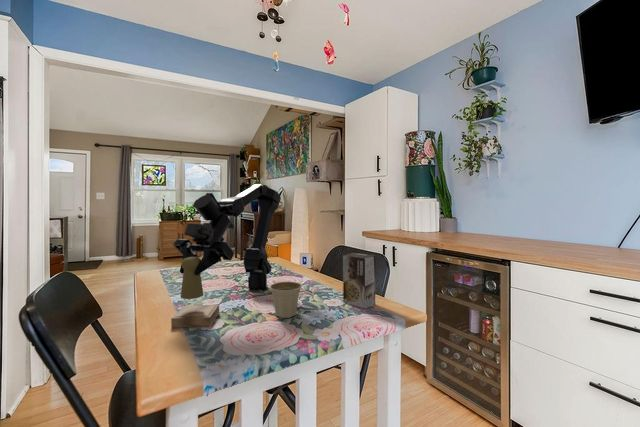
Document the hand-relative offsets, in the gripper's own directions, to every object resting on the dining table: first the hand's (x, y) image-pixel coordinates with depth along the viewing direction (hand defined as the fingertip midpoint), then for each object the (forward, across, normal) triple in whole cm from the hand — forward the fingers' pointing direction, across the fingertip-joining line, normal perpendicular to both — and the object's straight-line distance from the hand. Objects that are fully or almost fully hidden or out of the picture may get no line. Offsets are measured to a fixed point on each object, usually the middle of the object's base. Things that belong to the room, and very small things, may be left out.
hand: (188, 273), depth 84 cm
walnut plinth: (+8, +2, +10) cm, 13 cm away
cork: (+4, 0, +6) cm, 7 cm away
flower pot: (-1, +23, +20) cm, 30 cm away
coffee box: (-14, +40, +33) cm, 54 cm away
